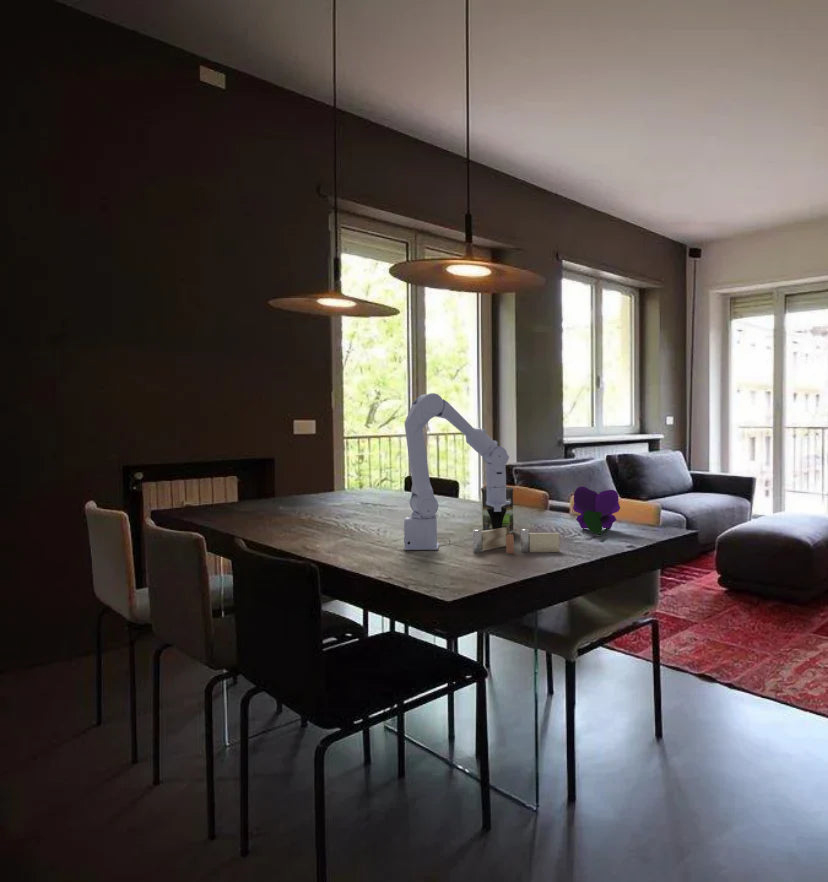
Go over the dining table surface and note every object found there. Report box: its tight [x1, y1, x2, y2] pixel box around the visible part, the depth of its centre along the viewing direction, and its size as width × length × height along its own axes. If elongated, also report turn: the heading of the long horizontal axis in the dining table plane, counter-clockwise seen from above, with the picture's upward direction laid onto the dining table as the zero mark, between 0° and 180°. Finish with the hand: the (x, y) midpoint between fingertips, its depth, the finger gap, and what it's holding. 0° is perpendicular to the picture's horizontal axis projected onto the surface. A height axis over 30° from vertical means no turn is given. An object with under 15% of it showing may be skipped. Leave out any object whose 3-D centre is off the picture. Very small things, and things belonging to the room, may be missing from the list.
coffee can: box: [480, 486, 514, 534], centre depth 205 cm, size 10×10×14 cm
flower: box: [572, 486, 621, 536], centre depth 198 cm, size 15×15×14 cm
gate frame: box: [472, 528, 560, 554], centre depth 175 cm, size 23×3×6 cm, turn 85°
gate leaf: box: [481, 527, 511, 551], centre depth 180 cm, size 10×2×5 cm, turn 125°
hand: (497, 532), depth 188 cm, fingers closed
